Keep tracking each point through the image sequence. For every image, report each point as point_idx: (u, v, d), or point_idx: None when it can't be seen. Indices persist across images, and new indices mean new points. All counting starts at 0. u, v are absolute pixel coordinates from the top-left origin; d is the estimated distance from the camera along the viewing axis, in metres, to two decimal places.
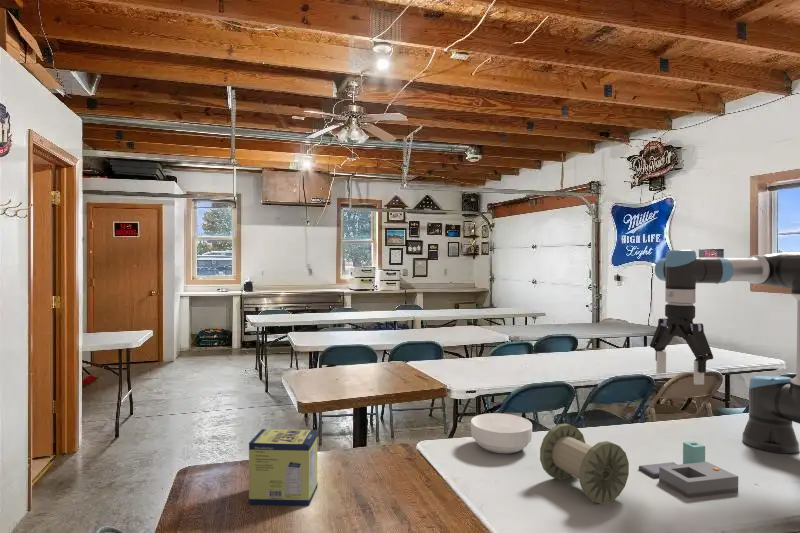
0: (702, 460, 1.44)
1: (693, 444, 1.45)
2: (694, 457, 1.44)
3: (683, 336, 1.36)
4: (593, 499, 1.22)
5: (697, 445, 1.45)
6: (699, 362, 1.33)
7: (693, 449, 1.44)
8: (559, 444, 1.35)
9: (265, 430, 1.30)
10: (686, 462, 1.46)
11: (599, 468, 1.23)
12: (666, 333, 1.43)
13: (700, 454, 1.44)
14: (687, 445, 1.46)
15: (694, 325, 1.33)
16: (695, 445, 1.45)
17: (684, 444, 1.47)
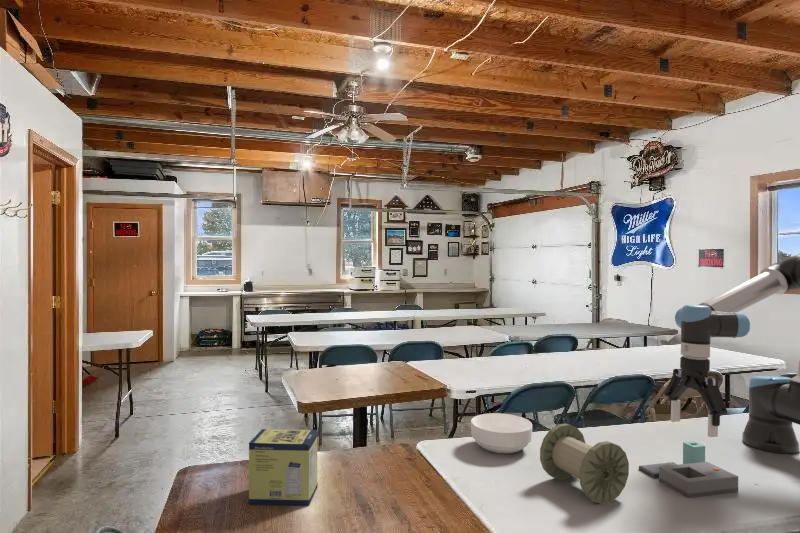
0: (702, 460, 1.44)
1: (693, 444, 1.45)
2: (694, 457, 1.44)
3: (698, 389, 1.42)
4: (593, 499, 1.22)
5: (697, 445, 1.45)
6: (713, 416, 1.38)
7: (693, 449, 1.44)
8: (559, 444, 1.35)
9: (265, 430, 1.30)
10: (686, 462, 1.46)
11: (599, 468, 1.23)
12: (681, 384, 1.48)
13: (700, 454, 1.44)
14: (687, 445, 1.46)
15: (709, 380, 1.39)
16: (695, 445, 1.45)
17: (684, 444, 1.47)
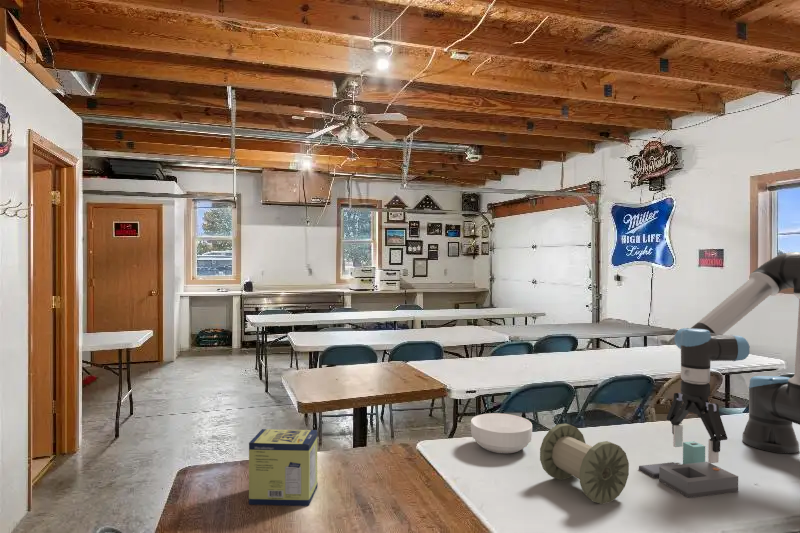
0: (702, 460, 1.44)
1: (693, 444, 1.45)
2: (694, 457, 1.44)
3: (698, 414, 1.42)
4: (593, 499, 1.22)
5: (697, 445, 1.45)
6: (713, 442, 1.39)
7: (693, 449, 1.44)
8: (559, 444, 1.35)
9: (265, 430, 1.30)
10: (686, 462, 1.46)
11: (599, 468, 1.23)
12: (682, 408, 1.48)
13: (700, 454, 1.44)
14: (687, 445, 1.46)
15: (710, 405, 1.39)
16: (695, 445, 1.45)
17: (684, 444, 1.47)
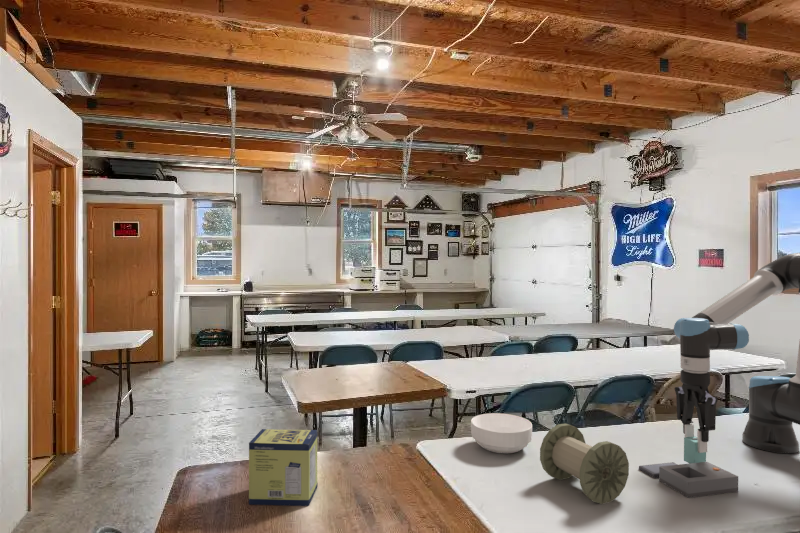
0: (703, 455, 1.44)
1: (694, 440, 1.45)
2: (695, 453, 1.44)
3: (695, 404, 1.44)
4: (593, 499, 1.22)
5: None
6: (702, 432, 1.43)
7: (694, 445, 1.44)
8: (559, 444, 1.35)
9: (265, 430, 1.30)
10: (687, 457, 1.46)
11: (599, 468, 1.23)
12: (686, 400, 1.47)
13: None
14: (688, 440, 1.46)
15: (709, 399, 1.40)
16: (696, 440, 1.45)
17: (685, 439, 1.47)
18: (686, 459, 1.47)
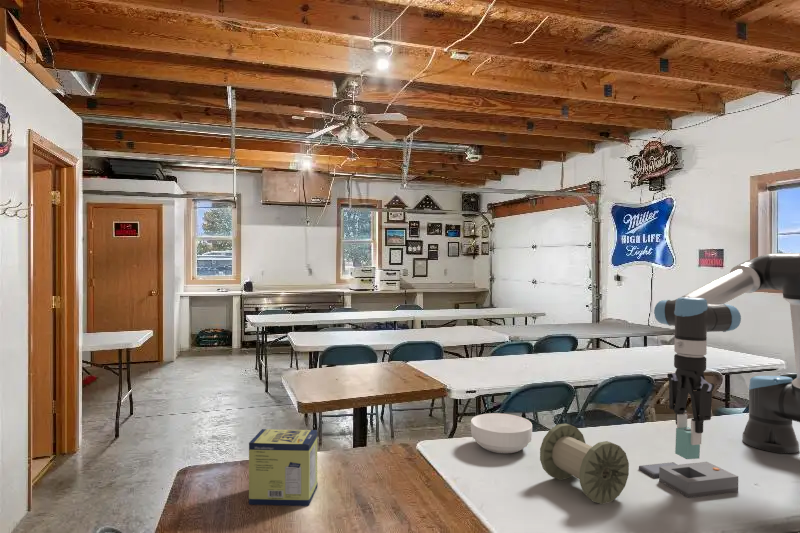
0: (696, 448, 1.31)
1: (686, 430, 1.32)
2: (688, 444, 1.30)
3: (689, 391, 1.31)
4: (593, 499, 1.22)
5: None
6: (696, 422, 1.30)
7: (686, 436, 1.31)
8: (559, 444, 1.35)
9: (265, 430, 1.30)
10: (679, 450, 1.33)
11: (599, 468, 1.23)
12: (679, 388, 1.34)
13: None
14: (680, 431, 1.33)
15: (705, 386, 1.26)
16: (689, 431, 1.32)
17: (677, 430, 1.34)
18: (678, 452, 1.33)
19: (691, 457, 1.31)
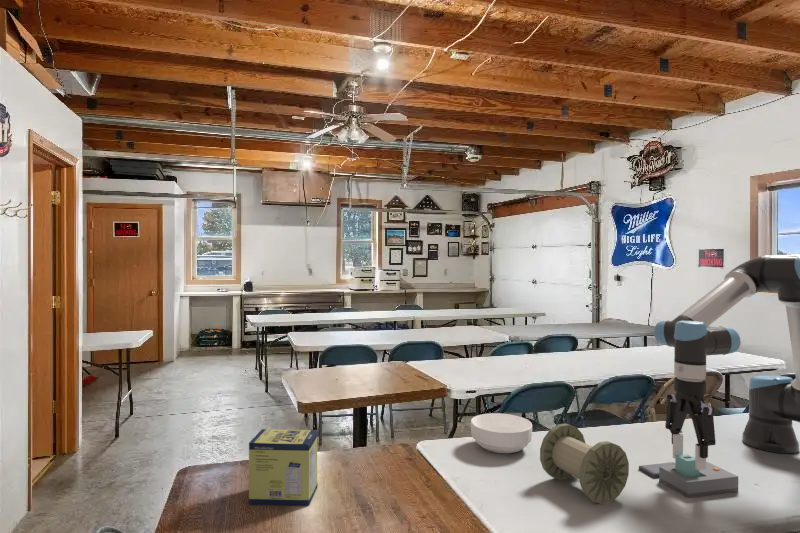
0: (696, 475, 1.31)
1: (686, 458, 1.32)
2: (688, 472, 1.31)
3: (690, 415, 1.30)
4: (593, 499, 1.22)
5: (691, 459, 1.32)
6: (700, 447, 1.28)
7: (686, 464, 1.31)
8: (559, 444, 1.35)
9: (265, 430, 1.30)
10: None
11: (599, 468, 1.23)
12: (677, 410, 1.35)
13: (694, 469, 1.31)
14: (680, 459, 1.33)
15: (705, 409, 1.26)
16: (688, 459, 1.32)
17: (676, 457, 1.34)
18: None
19: None
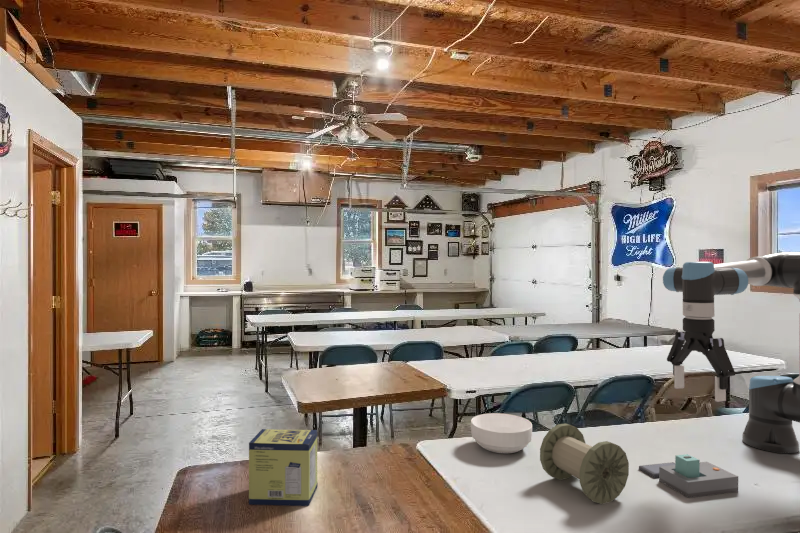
0: (696, 475, 1.31)
1: (686, 458, 1.32)
2: (688, 472, 1.31)
3: (703, 351, 1.32)
4: (593, 499, 1.22)
5: (691, 459, 1.32)
6: (720, 379, 1.28)
7: (686, 464, 1.31)
8: (559, 444, 1.35)
9: (265, 430, 1.30)
10: None
11: (599, 468, 1.23)
12: (684, 347, 1.38)
13: (694, 469, 1.31)
14: (680, 459, 1.33)
15: (714, 340, 1.29)
16: (688, 459, 1.32)
17: (676, 457, 1.34)
18: None
19: None
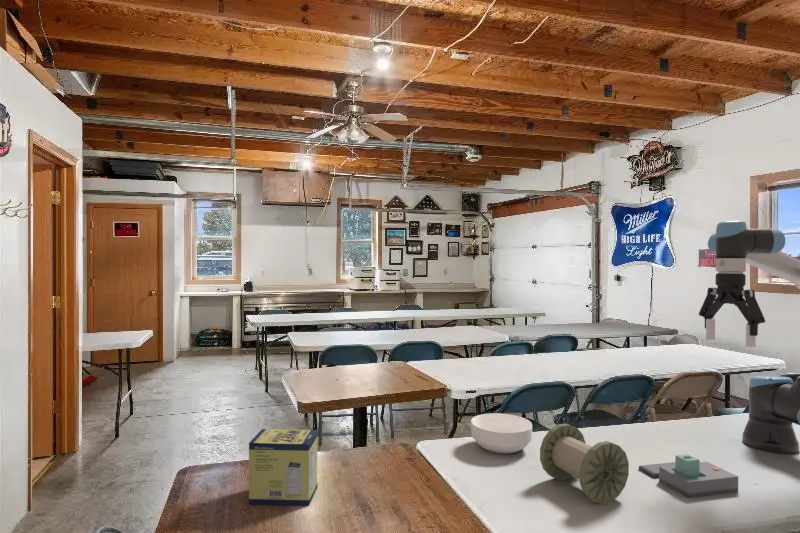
0: (696, 475, 1.31)
1: (686, 458, 1.32)
2: (688, 472, 1.31)
3: (734, 302, 1.45)
4: (593, 499, 1.22)
5: (691, 459, 1.32)
6: (751, 326, 1.41)
7: (686, 464, 1.31)
8: (559, 444, 1.35)
9: (265, 430, 1.30)
10: None
11: (599, 468, 1.23)
12: (716, 301, 1.51)
13: (694, 469, 1.31)
14: (680, 459, 1.33)
15: (746, 291, 1.42)
16: (688, 459, 1.32)
17: (676, 457, 1.34)
18: None
19: None
